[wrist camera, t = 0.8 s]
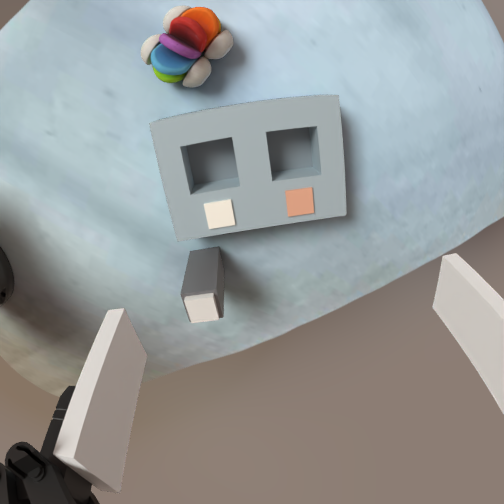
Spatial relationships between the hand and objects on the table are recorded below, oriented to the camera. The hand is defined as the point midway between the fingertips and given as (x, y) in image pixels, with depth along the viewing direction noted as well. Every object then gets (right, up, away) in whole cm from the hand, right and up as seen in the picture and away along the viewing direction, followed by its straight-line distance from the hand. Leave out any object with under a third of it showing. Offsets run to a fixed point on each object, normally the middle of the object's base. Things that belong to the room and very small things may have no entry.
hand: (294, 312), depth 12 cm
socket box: (-2, +14, +25) cm, 29 cm away
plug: (-8, +1, +32) cm, 33 cm away
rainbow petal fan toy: (-9, +26, +18) cm, 33 cm away
